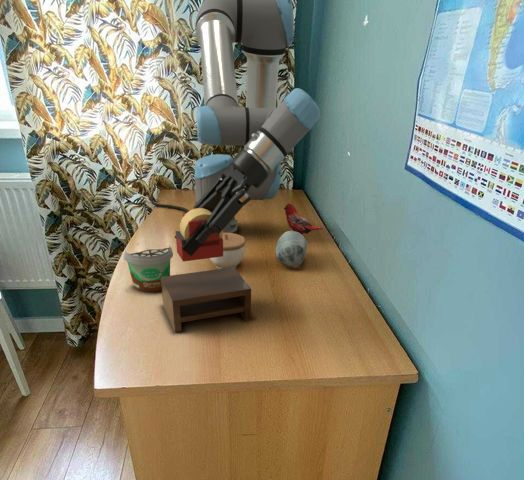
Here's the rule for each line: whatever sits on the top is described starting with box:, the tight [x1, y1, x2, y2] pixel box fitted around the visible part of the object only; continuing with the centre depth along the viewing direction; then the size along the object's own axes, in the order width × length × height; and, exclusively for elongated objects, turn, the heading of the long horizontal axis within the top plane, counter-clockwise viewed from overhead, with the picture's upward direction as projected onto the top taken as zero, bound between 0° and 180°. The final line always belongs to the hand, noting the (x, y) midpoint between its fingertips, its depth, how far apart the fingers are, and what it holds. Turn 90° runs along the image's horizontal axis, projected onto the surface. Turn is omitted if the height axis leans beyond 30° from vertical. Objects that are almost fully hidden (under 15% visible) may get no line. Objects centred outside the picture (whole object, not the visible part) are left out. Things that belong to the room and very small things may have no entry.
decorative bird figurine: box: [283, 203, 324, 235], centre depth 147 cm, size 3×18×10 cm, turn 43°
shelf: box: [161, 267, 252, 333], centre depth 106 cm, size 12×18×8 cm, turn 112°
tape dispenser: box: [175, 208, 223, 262], centre depth 97 cm, size 5×9×10 cm, turn 112°
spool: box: [275, 230, 308, 269], centre depth 132 cm, size 14×10×10 cm
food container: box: [123, 244, 174, 293], centre depth 114 cm, size 12×6×10 cm, turn 117°
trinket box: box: [209, 233, 246, 269], centre depth 128 cm, size 11×11×9 cm
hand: (182, 246), depth 97 cm, fingers closed on tape dispenser, 5 cm apart
